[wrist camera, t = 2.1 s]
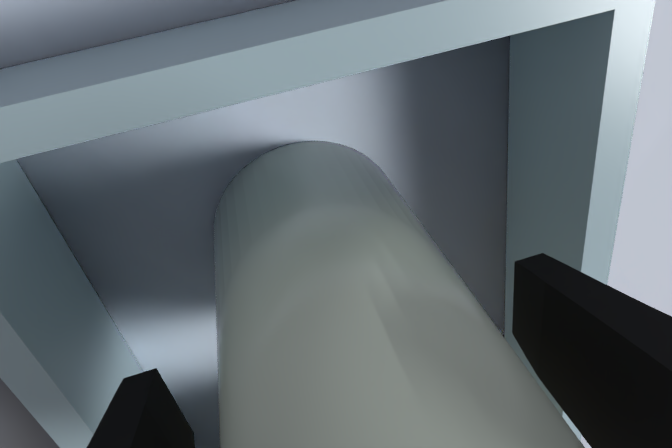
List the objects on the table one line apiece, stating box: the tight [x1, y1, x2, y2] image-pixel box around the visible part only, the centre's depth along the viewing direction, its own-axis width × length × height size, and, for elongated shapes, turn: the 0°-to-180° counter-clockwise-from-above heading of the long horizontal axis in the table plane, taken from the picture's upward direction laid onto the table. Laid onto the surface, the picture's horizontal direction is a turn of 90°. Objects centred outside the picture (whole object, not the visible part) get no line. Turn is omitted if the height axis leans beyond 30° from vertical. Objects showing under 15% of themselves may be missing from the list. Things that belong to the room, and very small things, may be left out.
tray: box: [0, 0, 655, 448], centre depth 14 cm, size 18×14×4 cm
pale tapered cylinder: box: [214, 141, 585, 448], centre depth 10 cm, size 5×5×9 cm
